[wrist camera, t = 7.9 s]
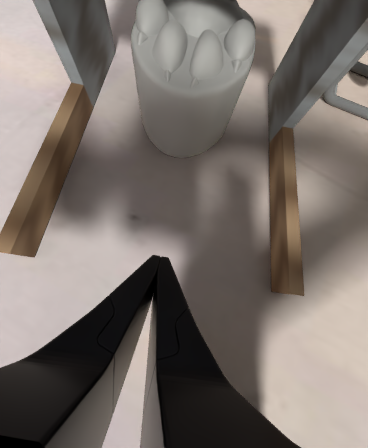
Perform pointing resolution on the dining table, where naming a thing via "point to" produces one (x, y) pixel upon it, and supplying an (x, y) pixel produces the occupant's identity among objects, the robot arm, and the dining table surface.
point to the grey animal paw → (190, 70)
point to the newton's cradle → (344, 103)
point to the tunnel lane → (278, 116)
